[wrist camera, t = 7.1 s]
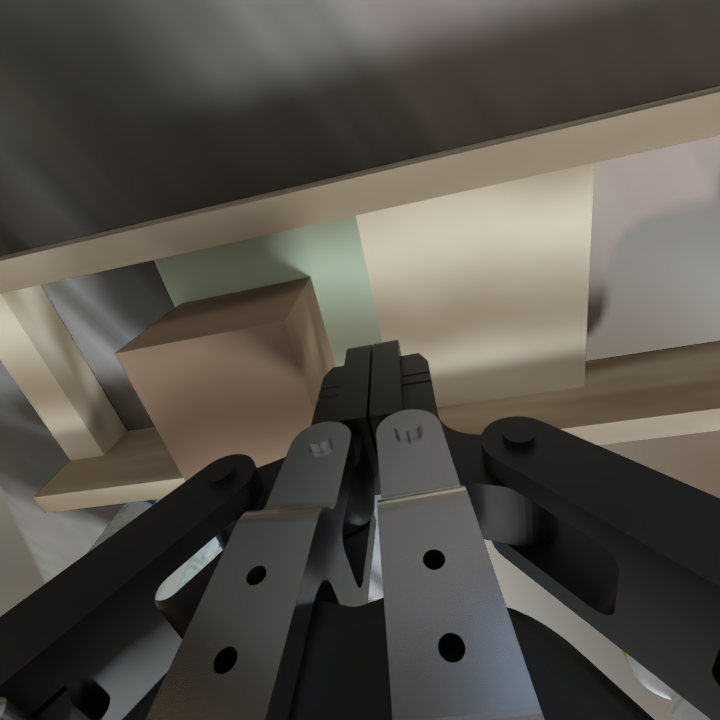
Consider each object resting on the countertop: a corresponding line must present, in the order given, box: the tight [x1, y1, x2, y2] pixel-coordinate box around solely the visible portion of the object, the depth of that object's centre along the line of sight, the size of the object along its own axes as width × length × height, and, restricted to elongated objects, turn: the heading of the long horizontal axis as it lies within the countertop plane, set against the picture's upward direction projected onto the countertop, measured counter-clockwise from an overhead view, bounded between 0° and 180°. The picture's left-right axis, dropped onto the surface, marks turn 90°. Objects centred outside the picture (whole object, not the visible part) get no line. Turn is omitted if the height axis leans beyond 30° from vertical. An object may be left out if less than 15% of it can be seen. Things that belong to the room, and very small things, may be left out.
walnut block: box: [115, 277, 336, 481], centre depth 15 cm, size 6×6×4 cm
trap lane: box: [0, 86, 720, 513], centre depth 16 cm, size 11×34×4 cm, turn 102°
